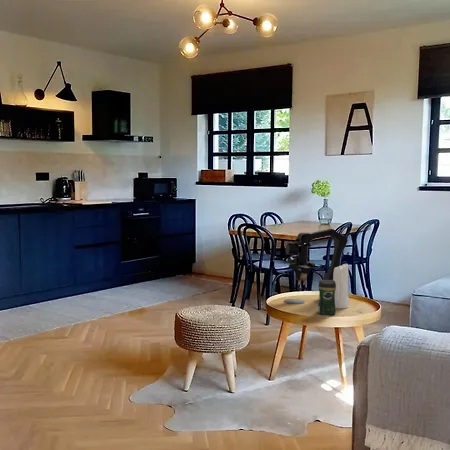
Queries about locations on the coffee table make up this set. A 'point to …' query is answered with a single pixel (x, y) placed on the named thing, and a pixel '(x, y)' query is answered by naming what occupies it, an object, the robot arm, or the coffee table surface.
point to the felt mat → (294, 301)
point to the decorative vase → (341, 286)
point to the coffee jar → (326, 297)
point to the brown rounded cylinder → (302, 278)
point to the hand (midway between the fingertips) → (301, 279)
